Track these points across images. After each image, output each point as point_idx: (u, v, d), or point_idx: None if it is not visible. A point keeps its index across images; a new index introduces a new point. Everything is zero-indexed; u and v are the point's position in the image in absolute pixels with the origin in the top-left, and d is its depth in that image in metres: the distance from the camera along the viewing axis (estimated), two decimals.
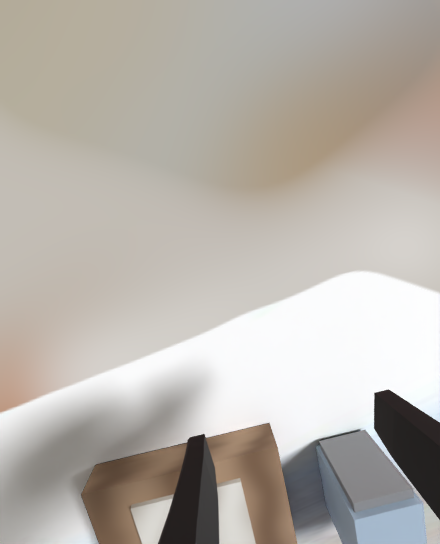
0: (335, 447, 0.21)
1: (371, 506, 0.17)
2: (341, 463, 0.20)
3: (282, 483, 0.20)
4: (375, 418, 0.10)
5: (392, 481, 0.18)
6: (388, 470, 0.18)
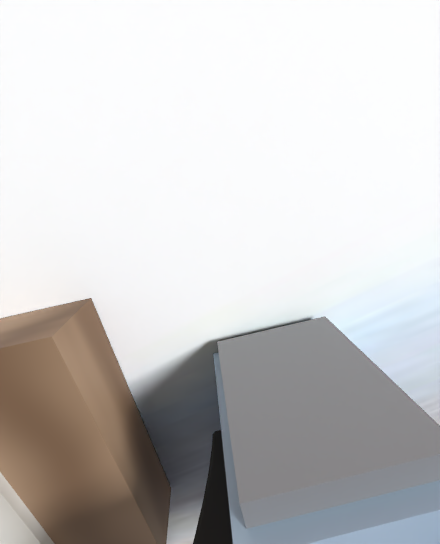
0: (247, 350, 0.08)
1: (308, 508, 0.05)
2: (248, 382, 0.07)
3: (93, 431, 0.07)
4: None
5: (387, 425, 0.05)
6: (376, 394, 0.06)
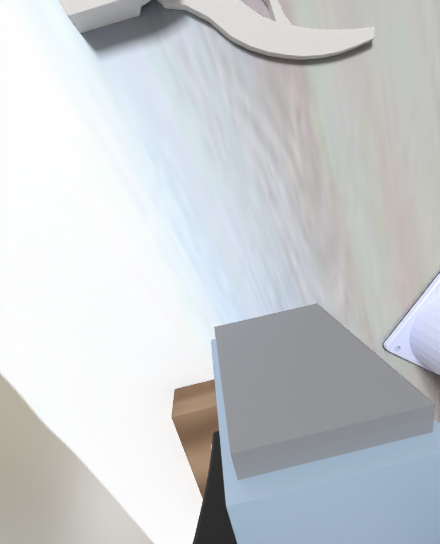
0: (242, 333, 0.09)
1: (294, 460, 0.05)
2: (242, 359, 0.08)
3: None
4: None
5: (367, 388, 0.06)
6: (359, 365, 0.06)
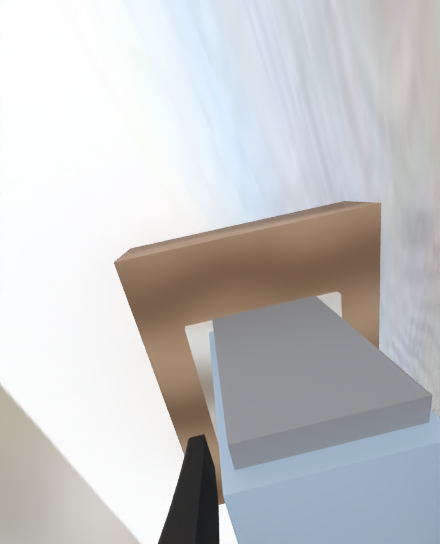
0: (240, 325, 0.09)
1: (291, 451, 0.05)
2: (239, 351, 0.08)
3: (201, 247, 0.10)
4: None
5: (365, 380, 0.06)
6: (358, 356, 0.06)
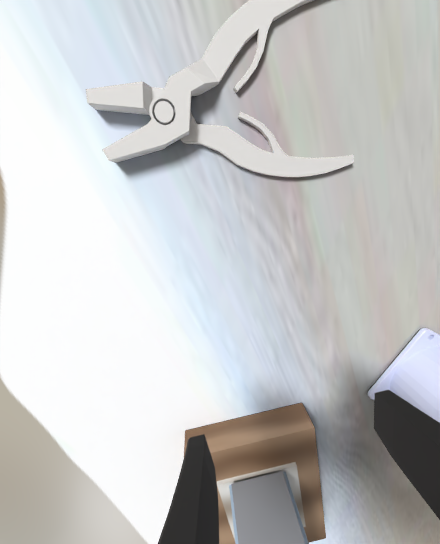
0: (245, 494, 0.19)
1: None
2: (245, 518, 0.18)
3: (226, 450, 0.20)
4: (375, 418, 0.10)
5: None
6: (292, 532, 0.16)
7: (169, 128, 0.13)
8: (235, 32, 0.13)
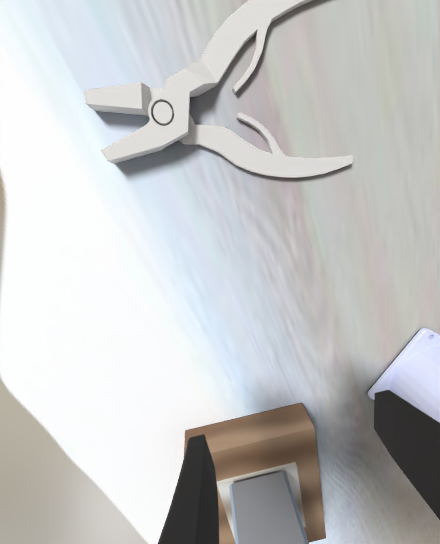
0: (245, 494, 0.19)
1: None
2: (245, 518, 0.18)
3: (226, 451, 0.20)
4: (375, 418, 0.10)
5: None
6: (292, 533, 0.16)
7: (168, 129, 0.13)
8: (234, 33, 0.13)
